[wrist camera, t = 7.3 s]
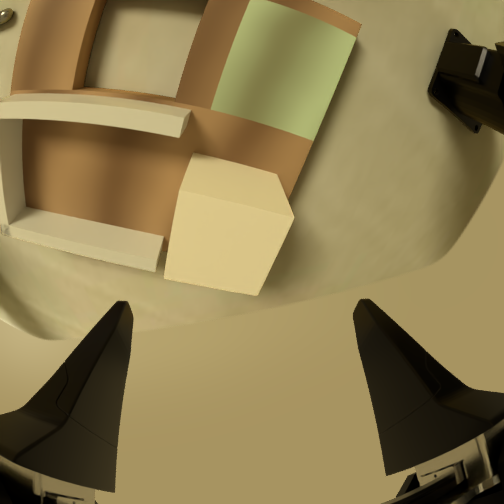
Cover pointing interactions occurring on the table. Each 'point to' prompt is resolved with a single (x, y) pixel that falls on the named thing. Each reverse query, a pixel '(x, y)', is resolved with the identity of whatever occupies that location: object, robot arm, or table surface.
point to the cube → (227, 226)
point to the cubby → (66, 227)
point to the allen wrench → (5, 15)
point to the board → (188, 96)
